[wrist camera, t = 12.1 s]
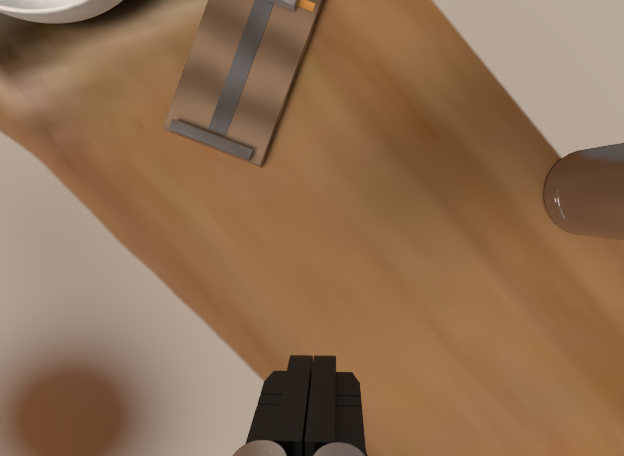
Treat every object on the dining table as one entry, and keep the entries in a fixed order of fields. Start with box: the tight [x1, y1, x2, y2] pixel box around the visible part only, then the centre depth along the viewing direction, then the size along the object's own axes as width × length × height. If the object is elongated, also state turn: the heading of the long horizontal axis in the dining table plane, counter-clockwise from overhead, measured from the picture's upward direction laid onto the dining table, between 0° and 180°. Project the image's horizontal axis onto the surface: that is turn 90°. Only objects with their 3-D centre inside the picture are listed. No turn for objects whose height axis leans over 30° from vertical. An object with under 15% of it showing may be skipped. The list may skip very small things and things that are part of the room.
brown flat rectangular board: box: [163, 0, 324, 167], centre depth 36 cm, size 22×10×3 cm, turn 159°
